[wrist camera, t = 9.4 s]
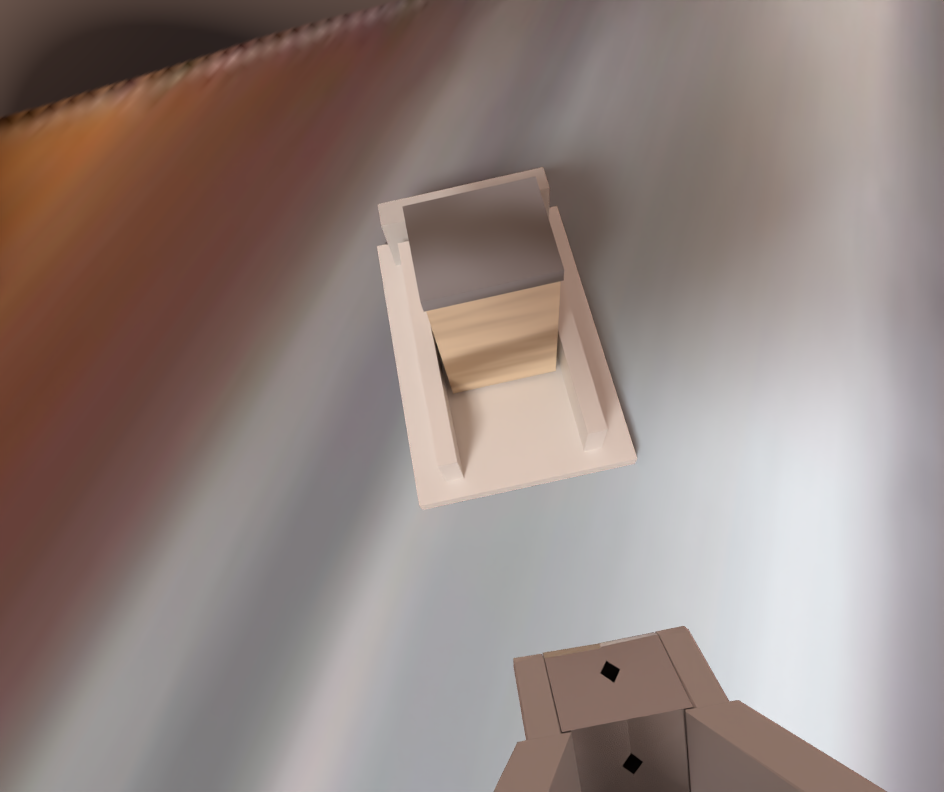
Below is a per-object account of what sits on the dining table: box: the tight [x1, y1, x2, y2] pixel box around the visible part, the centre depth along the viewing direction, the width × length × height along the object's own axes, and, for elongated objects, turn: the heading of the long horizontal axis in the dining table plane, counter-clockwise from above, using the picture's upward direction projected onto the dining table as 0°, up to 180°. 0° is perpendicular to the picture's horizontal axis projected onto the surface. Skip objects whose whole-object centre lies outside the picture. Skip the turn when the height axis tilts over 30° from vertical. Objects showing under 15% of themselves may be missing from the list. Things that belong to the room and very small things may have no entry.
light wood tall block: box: [402, 176, 564, 394], centre depth 32 cm, size 5×6×10 cm
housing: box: [377, 167, 637, 510], centre depth 36 cm, size 18×12×5 cm
